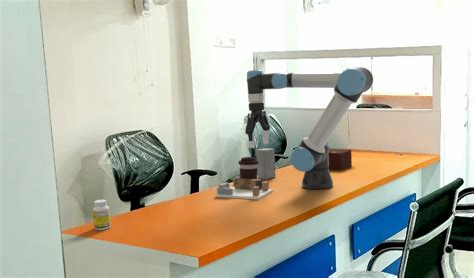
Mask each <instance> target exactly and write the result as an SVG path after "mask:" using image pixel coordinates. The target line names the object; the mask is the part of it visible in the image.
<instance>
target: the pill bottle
mask: <svg viewBox="0 0 474 278" xmlns="http://www.w3.org/2000/svg"><path fill="white" fill-rule="evenodd" d="M107 203H108V202H107V200H106V199H97V200H94V202H93V204H94V206H93V208H92V215H93V226H94V230H95V231H105V229H106V230H109V229H110V228H111V216H110V206H109V205H107ZM108 228H109V229H108Z"/></svg>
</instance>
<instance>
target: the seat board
mask: <svg viewBox="0 0 474 278" xmlns="http://www.w3.org/2000/svg"><path fill="white" fill-rule="evenodd" d="M269 185H270V184H269V181H262V189H261V190H259V187H258V186H254V187H252V190H251V189H235V188H234V186H230V182H223V183H220V184H218V187H217V188H216V195H215V196H216V198H228V199H229V198H230V199H231V198H232V199H243V200H244V199H245V200H261V199H262V198H265V197H266V196H267V195H270V194H271V193H273V189H270V186H269Z"/></svg>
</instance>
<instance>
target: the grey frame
mask: <svg viewBox="0 0 474 278" xmlns="http://www.w3.org/2000/svg"><path fill="white" fill-rule="evenodd" d="M237 177H240V175H239V176H237V175H235V177H234V178H232V185H233V186H232V187H234V179H236V178H237Z"/></svg>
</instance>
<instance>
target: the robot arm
mask: <svg viewBox="0 0 474 278" xmlns="http://www.w3.org/2000/svg"><path fill="white" fill-rule="evenodd" d="M246 82H247V83H246V85H247V98H248V111H249V112H251V113H247V120H246V127H245V131H244V132H245V134H246V135H248V146H249V147H248V148H250V149H253V148H254V149H255V148H256V143H255V134H254V132H255V128H256V124H257V123H259V125H260V127H261V128H262V131H261V134H262V136H261V137H262V145H268V144H269V134H268V132H269V131H270V130H271V129H270V128H271V126H270V123H269V120H268V117H267V116H268V115H267V111H266V110H265V102H264V100H265V97H264V96H265V95H264V91H265V90H281V89H285V88H286V89H287V88H288V89H289V88H299V89H300V88H307V89H308V88H309V89H310V88H313V89H314V88H315V89H319V88H320V89H323V88H324V89H325V88H327V89H333V93H334V95H333V96H332V98H331V100H330V101H329V102H328V105H326V107H325V109H324V111H323V113H322V114H321V115H320V117H319V118H318V120H317V121H316V124H315V126H314V127H313V128H312V130H311V131H310V133H309V135H308V136H305V137H304V138H302V140H301V142H300V143H299V145H298V146H297V147H296V148H294V149H293V150H292V151H291V155H290V162H291V165H292V166H293V168H294V169H295V170H297V171H299V172H301V173H302V172H304V174H303V178H302V181H301V187H302V188H304V189H308V190H325V189H331V188H332V187H334V181H333V178H332V175H331V173H330V170H329V149H328V148H330V146H329V142H328V141H329V140H330V138H331V137H332V135H333V134H334V132H335V130H336V129H337V127H338V126H339V124H340V122H341V121H342V119H343V118H344V116H345V115H346V113H347V112H348V110H349V108H350V107H351V105H353V104H357V102H358V101H359V100H360V98H361V96H362V95H363V94H364V93H366V92H367V91H369V90H370V89H371V88H372V86H373V83H374V76H373V74H372V72H371V70H370V69H368V68H366V67H363V66H362V67H361V66H359V67H358V66H357V67H356V66H355V67H349V68H346V69H344V70H342V71H284V72H272V73H271V72H270V73H263V70H261V69H256V70H248V71H246Z"/></svg>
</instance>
